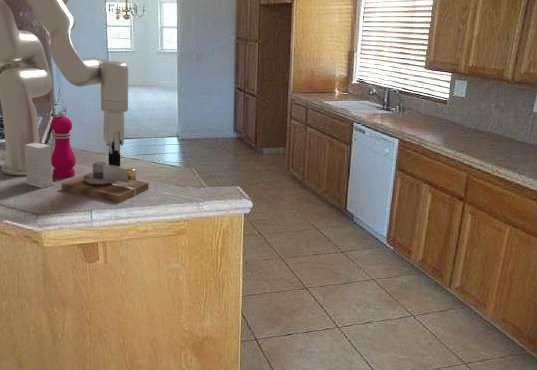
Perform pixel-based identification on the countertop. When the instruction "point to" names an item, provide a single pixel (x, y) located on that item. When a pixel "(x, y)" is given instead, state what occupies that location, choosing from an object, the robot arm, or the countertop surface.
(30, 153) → the skincare box
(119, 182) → the walnut board
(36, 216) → the countertop surface
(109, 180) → the dial
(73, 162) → the pepper mill
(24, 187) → the countertop surface
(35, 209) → the countertop surface
